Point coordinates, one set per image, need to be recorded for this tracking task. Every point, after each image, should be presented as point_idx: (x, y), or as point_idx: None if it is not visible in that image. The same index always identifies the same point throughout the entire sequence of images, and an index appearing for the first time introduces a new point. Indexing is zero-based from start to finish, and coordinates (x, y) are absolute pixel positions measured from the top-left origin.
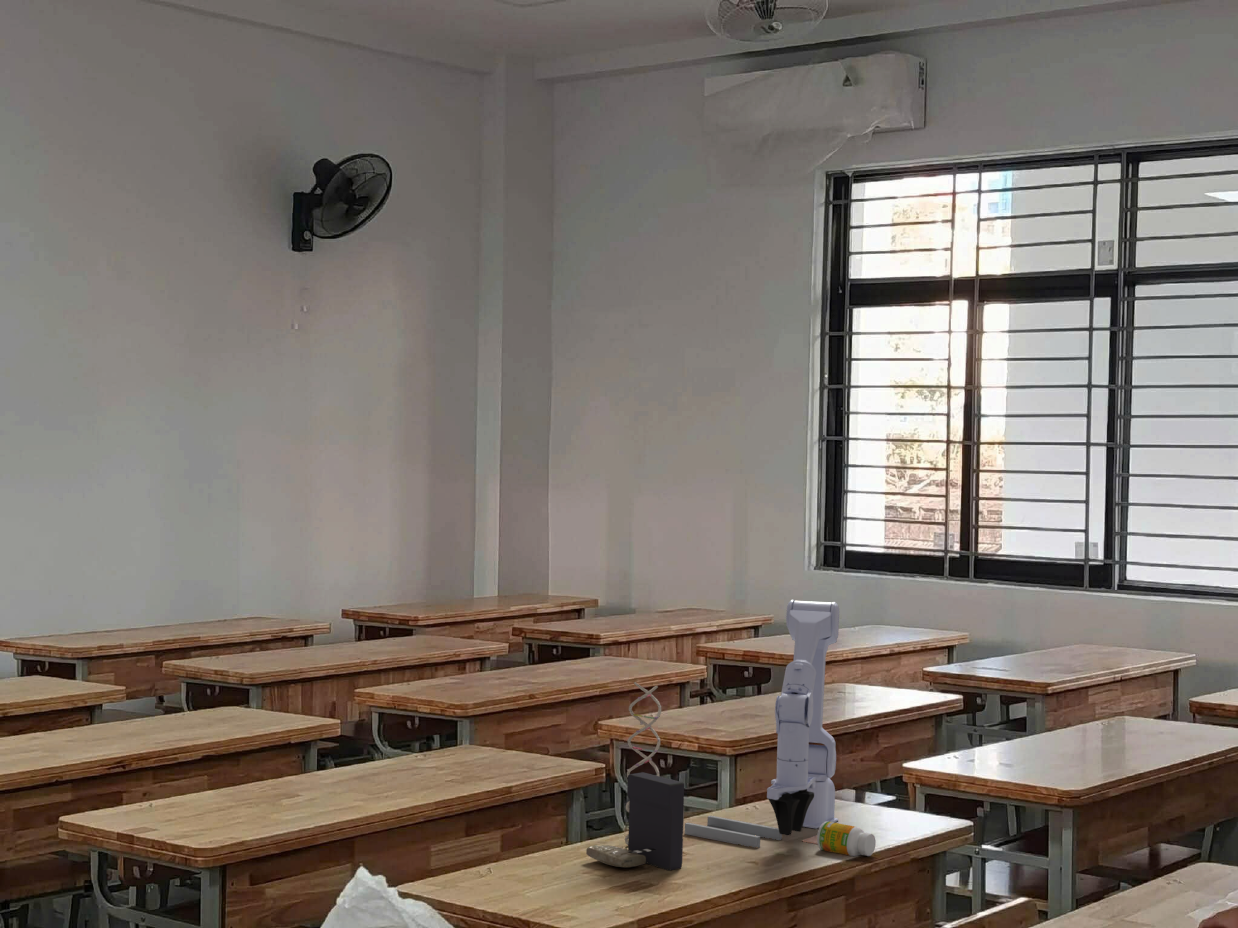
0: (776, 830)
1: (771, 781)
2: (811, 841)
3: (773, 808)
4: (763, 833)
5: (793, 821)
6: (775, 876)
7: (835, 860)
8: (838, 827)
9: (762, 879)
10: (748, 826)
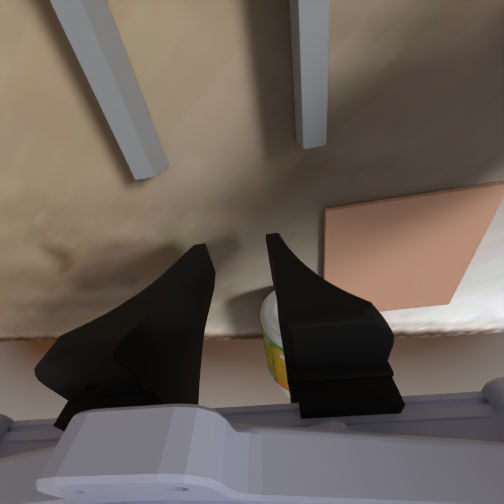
0: (302, 132)
1: (48, 460)
2: (334, 234)
3: (123, 305)
4: (294, 52)
5: (270, 264)
6: (63, 329)
7: (241, 328)
8: (285, 373)
9: (28, 328)
10: None
